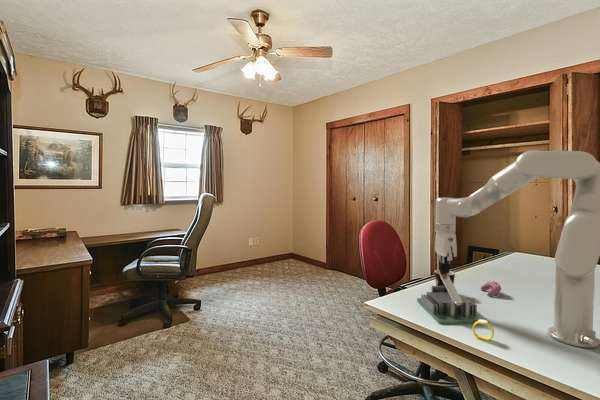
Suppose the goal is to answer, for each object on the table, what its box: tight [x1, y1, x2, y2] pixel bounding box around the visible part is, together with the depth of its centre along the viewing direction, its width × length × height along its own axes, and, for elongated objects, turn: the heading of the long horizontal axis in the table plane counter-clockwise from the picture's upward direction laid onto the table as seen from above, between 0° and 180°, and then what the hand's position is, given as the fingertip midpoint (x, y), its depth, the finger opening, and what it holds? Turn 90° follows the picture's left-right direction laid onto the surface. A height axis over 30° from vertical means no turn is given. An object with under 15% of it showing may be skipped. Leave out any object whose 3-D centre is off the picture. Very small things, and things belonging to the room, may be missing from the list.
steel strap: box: [437, 269, 464, 306], centre depth 123 cm, size 18×3×1 cm
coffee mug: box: [434, 269, 456, 292], centre depth 144 cm, size 12×9×10 cm
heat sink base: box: [416, 285, 487, 325], centre depth 124 cm, size 22×17×7 cm
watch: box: [471, 319, 495, 341], centre depth 102 cm, size 6×3×6 cm, turn 55°
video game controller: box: [480, 279, 502, 298], centre depth 145 cm, size 10×5×7 cm, turn 169°
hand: (444, 272), depth 128 cm, fingers closed
